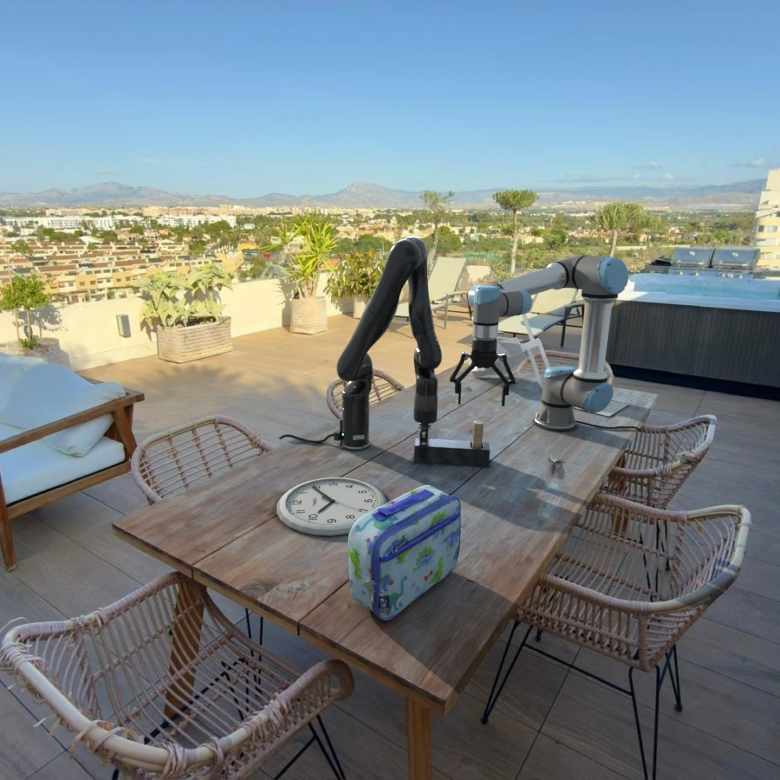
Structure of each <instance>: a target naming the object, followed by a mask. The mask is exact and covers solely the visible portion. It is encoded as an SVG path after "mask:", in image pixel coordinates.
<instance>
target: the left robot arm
mask: <svg viewBox="0 0 780 780" xmlns="http://www.w3.org/2000/svg"><path fill="white" fill-rule="evenodd" d="M406 283H407V284H408V285H407V286H408V304H407V305H408V309H407V312H408V321H409V325H410V330H411V334H412V337H413V338H414V340H415V341H416V345H417V346H416V348H415V349H414V352H413V368H414V374H415V388H414V389H415V392H414V398H413V420H414V421H415V422H416V423H419V424H418V430H417V431H418V438H419V441H420V445H419V449H420V459H426V458H427V448H428V446H427V445H428V441H429V439H431V437H430V436H431V433H432V432H431V431H432V424H434V423H435V422H437V421H438V404H439V398H438V397H439V396H438V390H439V389H438V388H439V387H438V386H439V381H438V380H439V379H438V377H437V375H436V371H435V370H436V369H437V368H439V366H440V365H441V364H442V361H443V351H442V349H441V345H440V342H439V339H438V337H437V334H436V331H435V329H436V328H435V323H434V318H433V311H432V307H431V306H432V305H431V300H430V299H431V298H430V291H429V279H428V250H427V246H426V244H425V242H424V241H423V240H422V239H421V238H420V237H418V236H415V235H414V236H413V235H411V236H406V237H404V238H402V239H400V240H398V241H396V242H395V243H393V245H392V246H391V248H390V250H389V253H388V256H387V258H386V261H385V265H384V267H383V271H382V273H381V276H380V278H379V280H378V282H377V284H376V285H375V288H374V290H373V292H372V293H371V295H370V298H369V300H368V301H367V303H366V305H365V308H364V310H363V312H362V314H361V316H360V319H359V321H358V323H357V325H356V327H355V330H354V331H353V333H352V335H351V338H349V339H350V340H349V341H348V343H347V344H346V346H345V348H343V351H342V353H341V355H340V356H339V358H338V359H337V362H336V375H337V376H338V377H339V379H340V380H341V381H343V382H347V385H346V386H345V387H344V388H343V389H342V391H341V418H340V419H339V429H338V430H336V431H334V432H333V433H330V434H328V435H326V436H325V437H324V438H323V439H319V440H315V439H314V440H312V439H307V438H305V437H300V438H299V436H296V435H294V434H288V433H286V434H283V435H281V436H279V438H278V440H283V439H285V438H292V439H294V440H298V441H302V442H305V443H309V444H321V443H324V442H326V441H328V440H329V439H330V438H332V437H333V441H336V442H339V446H342V447H343V448H344V449H345V450H349V451H362V450H365V449H367V448H369V446H370V394H371V391H372V388H373V387H372V386H373V373H374V372H373V371H374V370H373V360H372V358H371V356H370V354H369V353H368V352H369V351H370V349H371V348H372V347H373V346H374V345H375V344H376V343H377V342H378V341H379V340H380V339H381V338H382V337H383V336H384V334H386V332H387V331H388V329H389V328H390V326H391V324H392V322H393V320H394V318H395V316H396V313H397V312H398V308H399V302H400V299H401V293H402V291H403V289H404V287H405V285H406ZM422 443H426V445H421V444H422Z"/></svg>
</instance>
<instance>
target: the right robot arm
mask: <svg viewBox="0 0 780 780" xmlns="http://www.w3.org/2000/svg"><path fill="white" fill-rule="evenodd" d="M628 269H629V268H628V266H627V265H626V263H625V261H623V260H622V259H620V258H618V257H613V256H608V255H605V256H604V255H587V254H580V255H574V256H571V257H567V258H563V259H561V260H557V261H554V262H551V263H549V264H548V265H547V266H546V267H545V268H541V269H538V270H535V271H531V272H527V273H525V274H521V275H519V276H516V277H512V278H509V279H506V280H502V281H499V282H496V283H492V284H489V285H482V284H481V285H473V286H472V287H471V288H470V289H469V292H468V294H467V300H468V304H469V305H470V307H473V315H472V317H473V318H472V321H473V322H472V333H471V335H472V337H473V338H472V339H471V351H470V353H468V352H465V351H462V352H461V354H460V358H459V360H458V362H457V364H456V366H455V367H454V369H453V371H452V372H451V374H450V376H449V382H450V383H453V384H454V394H457V405H461V402H462V381H463V380H464V379H465V378H467V376H468V375H469V374H470V373H471V370H473V369H474V368H475V367H478V368H490V367H492V369H493V370H494V371H495V372H496V373H497V374H496V375H497V376H498V377H499V379H500V380H501V381H502V382H503V383H502V389H501V403H500V404H501V406H502V407H505V405H506V396H509V395H510V386H511V385H516V383H517V381H516V379H515V376H514V374H513V371H512V369H510V367H509V365H508V363H507V356H506V354H505V353H503V354H499V355H497V340H498V339H497V338H498V335H499V322H500V318H504V317H514V316H517V317H518V316H522V315H523V314H526V315H527V314H528V313H529V312H530V311H531V309H532V307H533V298H532V296H534V295H537V294H540V293H543V292H547V291H549V290H552V289H553V290H555V291H558V290H562V289H576V290H581V295H580V296H581V298H582V299H583V301H584V302H585V304H584V312H583V322H582V330H581V340H580V347H579V357H578V365H577V366H578V368H577V367H574V366H567V365H557V366H550V367H549V368H547V369H546V368H545V370H544V375H543V378H542V379H543V380H542V382H543V389H542V392H541V402H540V405H539V407H538V410H537V411H535V416H534V424H535V425H536V426H537V427H539V428H542V429H544V430H549V431H556V432H567V431H572V430H574V429H575V428H576V423H577V424H580V425H585V426H589V427H593V428H599V429H606V430H617V429H635V430H637V432H640V433H641V432H643V431H642V429H640V428H639V427H637V426H634V425H627V426H626V425H625V426H624V425H619V426H604V425H598V424H593V423H589V422H585V421H580V420H577V419H576V418H575V417H576V416H575V413H574V407H578V408H580V409H583V410H582V411H584V412H588V411H589V412H588V413H593V414H596V413H597V412H600V411H602V410H603V409H605V408H606V406H607V405H608V404H609V403H610V401H612V399H613V396H614V388H613V385H612V384H611V383H609V382H608V377H609V375H608V373H607V372H606V371H605V365H606V364H605V363H606V355H607V350H608V349H607V348H608V341H609V332H610V323H611V316H612V309H613V303H614V302H615V301H617V300H618V298H619V294H622V293H623V292H624V291H625V289H626V288H625V287H627V286H628V282H629V270H628ZM498 358H499V359H500V361H503V364H504V366H505V368H506V371H507V376H508V377H509V379H508V378H507V377H506V375H505V374H503V373H502V372H501V371H500V369H499V368H498V367H497V365H496V364H495V361H496V360H497V359H498ZM468 359H470V362H471V363H470V362H469V363H470V365H469V364H468V366H467V367H466V368H464V370H463V371H462V372H461V373H460V374H459V375H458V373H459V372H460V371H461V368H462V367H463V365H464V363H465V361H467V360H468ZM580 409H579V410H580Z"/></svg>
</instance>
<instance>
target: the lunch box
mask: <svg viewBox="0 0 780 780" xmlns="http://www.w3.org/2000/svg"><path fill="white" fill-rule="evenodd" d="M461 520H462V506H461V500H460V498H459V497H458V496H457V495H454V494H450V495H449V494H448V493H445V492H444V491H442V490H440V489H438V488H436V487H435V486H432V485H430V484H425V485H420V486H418V487H416V488H415V489H412V490H410V491H408V492H406V493H404V494H402V495H400V496H398V497H396V498H394V499H392V500H390V501H387V503H386V504H384V505H382V506H380V507H378V508H376V509H375V510H373V511H371V512H369V513H366V514H365V515H363V516H361V517H359V518H358V519H357V520H356V521H355V523H354V524H353V526H352V528H351V530H350V533H349V534H348V536H347V537H348V538H347V557H348V559H347V560H348V586H349V592H350V597H351V599H352V600H353V601H355V602H356V603H358V604H360V605H362V606H364V607H365V608H366V609H368V610H369V611H371V612H372V613H374V615H375V616H376V617H377V618H379V619H380V620H383V621H390V620H393V619H394V618H395V617H397V616H398V615H399V614H400V613H401V612H402V611H403V610H405V609H406V608H407V607H408V606H409V605H411V604H412V603H414V602H415V601H416V600H417V599H419V598H420V597H421V596H422V595H424V594H425V593H426V592H427V591H429V589H431V588H432V587H433V586H435V585H436V584H438V583H439V582H440V581H442V580H444V579H445V578H446V577H448V575H450V573H451V572H452V571H453V570H454V568H455V566H456V564H457V562H458V559H459V555H460V552H461V551H460V549H461V535H462V534H461V533H462V521H461Z"/></svg>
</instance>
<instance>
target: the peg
mask: <svg viewBox="0 0 780 780" xmlns="http://www.w3.org/2000/svg"><path fill="white" fill-rule="evenodd" d="M484 423H485V422H484V421H483V420H478V419H477V420H473V421H472V424H473V425H472V440H471V441H472V448H482V442H483V439H484V438H483V437H484Z"/></svg>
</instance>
